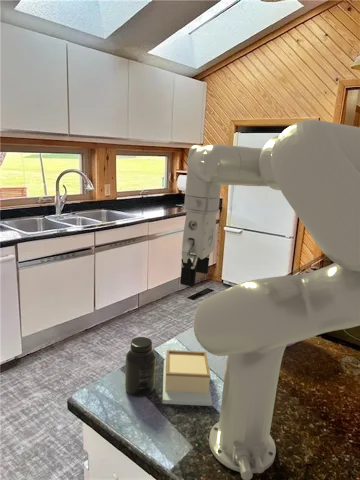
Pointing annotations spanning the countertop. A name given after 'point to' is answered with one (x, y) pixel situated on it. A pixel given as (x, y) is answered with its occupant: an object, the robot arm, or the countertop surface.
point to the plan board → (186, 378)
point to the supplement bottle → (140, 367)
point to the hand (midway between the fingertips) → (194, 278)
